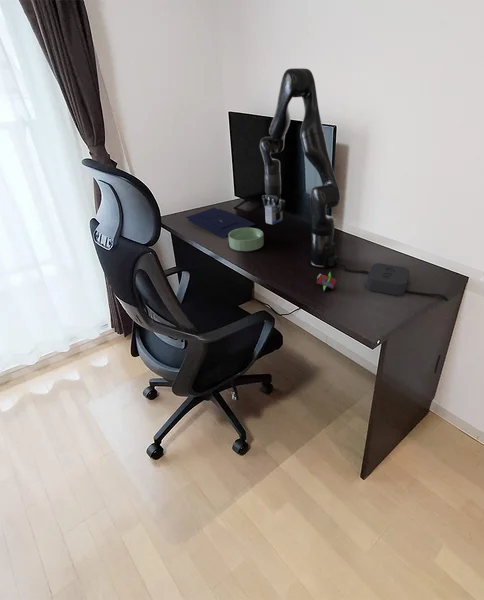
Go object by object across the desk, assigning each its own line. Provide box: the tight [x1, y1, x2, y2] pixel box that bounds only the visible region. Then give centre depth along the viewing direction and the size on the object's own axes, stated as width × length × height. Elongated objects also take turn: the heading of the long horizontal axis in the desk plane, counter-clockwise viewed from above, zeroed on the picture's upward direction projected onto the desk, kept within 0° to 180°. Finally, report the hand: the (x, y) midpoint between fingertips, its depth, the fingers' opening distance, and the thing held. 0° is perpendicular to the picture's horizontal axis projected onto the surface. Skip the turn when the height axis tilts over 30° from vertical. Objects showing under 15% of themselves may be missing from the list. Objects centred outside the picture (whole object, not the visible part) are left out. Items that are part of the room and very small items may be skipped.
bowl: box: [227, 227, 265, 252], centre depth 174 cm, size 16×16×6 cm
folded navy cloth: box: [185, 207, 256, 239], centre depth 196 cm, size 24×30×4 cm
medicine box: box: [264, 204, 283, 226], centre depth 179 cm, size 8×4×9 cm, turn 143°
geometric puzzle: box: [316, 271, 338, 292], centre depth 139 cm, size 7×7×8 cm
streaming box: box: [365, 262, 411, 296], centre depth 142 cm, size 14×14×5 cm
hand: (274, 218), depth 180 cm, fingers closed on medicine box, 4 cm apart
